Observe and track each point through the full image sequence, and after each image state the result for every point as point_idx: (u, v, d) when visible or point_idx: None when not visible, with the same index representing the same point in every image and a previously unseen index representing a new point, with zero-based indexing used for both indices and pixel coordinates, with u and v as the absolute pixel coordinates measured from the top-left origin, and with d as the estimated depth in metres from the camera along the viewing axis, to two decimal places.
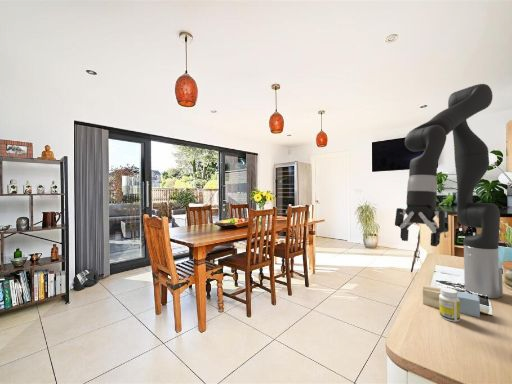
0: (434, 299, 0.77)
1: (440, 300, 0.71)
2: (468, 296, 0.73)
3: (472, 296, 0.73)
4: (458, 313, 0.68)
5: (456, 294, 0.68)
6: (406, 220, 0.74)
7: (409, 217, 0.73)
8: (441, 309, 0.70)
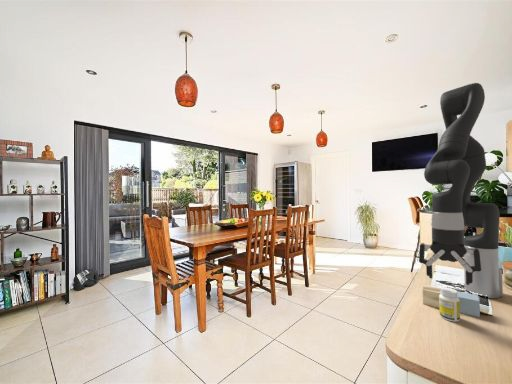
0: (434, 299, 0.77)
1: (440, 300, 0.71)
2: (468, 296, 0.73)
3: (472, 296, 0.73)
4: (458, 313, 0.68)
5: (456, 294, 0.68)
6: (435, 258, 0.71)
7: (438, 255, 0.70)
8: (441, 309, 0.70)
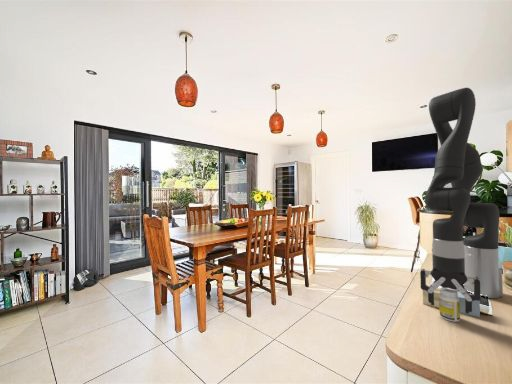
0: (434, 299, 0.77)
1: (440, 300, 0.71)
2: None
3: None
4: (458, 313, 0.68)
5: (456, 294, 0.68)
6: (436, 285, 0.71)
7: (439, 282, 0.70)
8: (441, 309, 0.70)
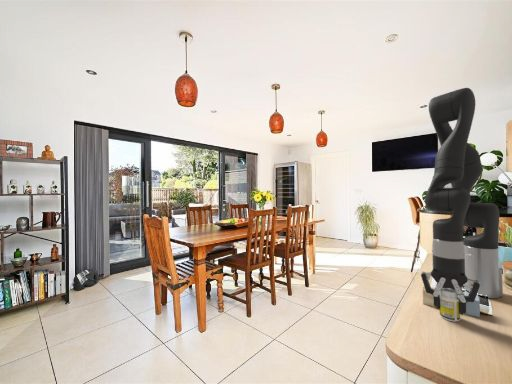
0: None
1: (440, 300, 0.71)
2: None
3: None
4: (458, 313, 0.68)
5: (456, 294, 0.68)
6: (439, 287, 0.70)
7: (441, 283, 0.70)
8: (441, 309, 0.70)
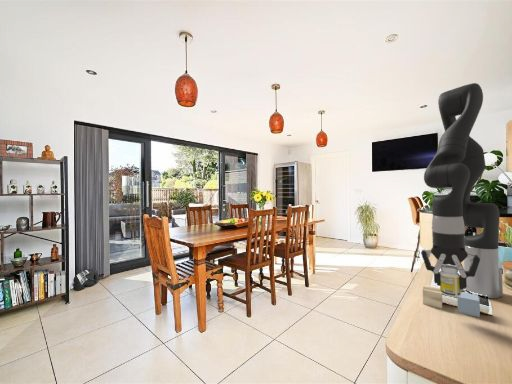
0: (434, 299, 0.77)
1: (440, 277, 0.71)
2: (468, 296, 0.73)
3: (472, 296, 0.73)
4: (459, 288, 0.68)
5: (456, 270, 0.68)
6: (439, 264, 0.70)
7: (441, 260, 0.70)
8: (442, 285, 0.70)
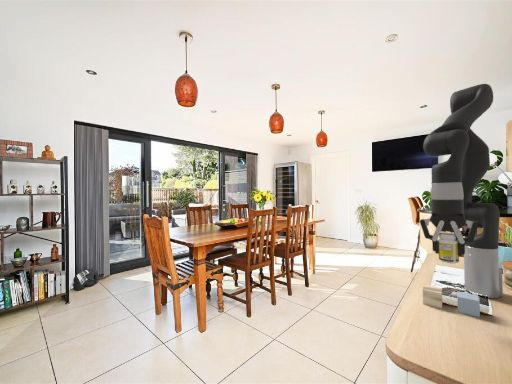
0: (434, 299, 0.77)
1: (439, 244, 0.71)
2: (468, 296, 0.73)
3: (472, 296, 0.73)
4: (457, 255, 0.68)
5: (455, 236, 0.68)
6: (438, 231, 0.70)
7: (440, 227, 0.70)
8: (440, 253, 0.70)
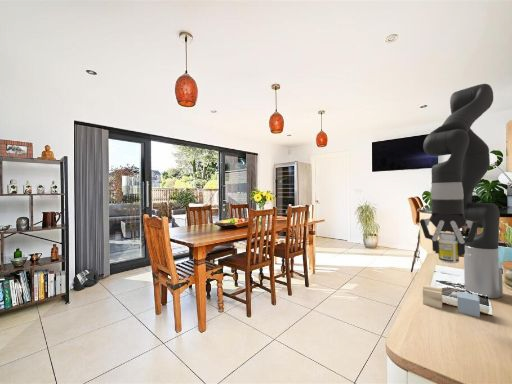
0: (434, 299, 0.77)
1: (439, 244, 0.71)
2: (468, 296, 0.73)
3: (472, 296, 0.73)
4: (457, 255, 0.68)
5: (455, 236, 0.68)
6: (438, 231, 0.70)
7: (440, 227, 0.70)
8: (440, 253, 0.70)
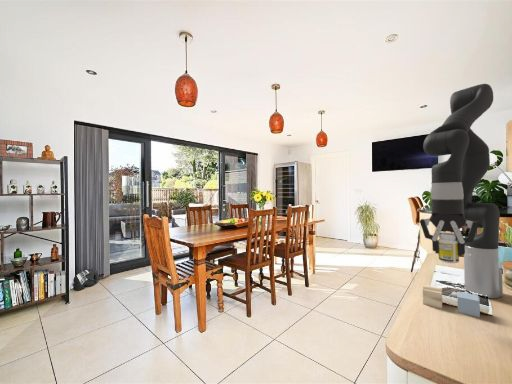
0: (434, 299, 0.77)
1: (439, 244, 0.71)
2: (468, 296, 0.73)
3: (472, 296, 0.73)
4: (457, 255, 0.68)
5: (455, 236, 0.68)
6: (438, 231, 0.70)
7: (440, 227, 0.70)
8: (440, 253, 0.70)
